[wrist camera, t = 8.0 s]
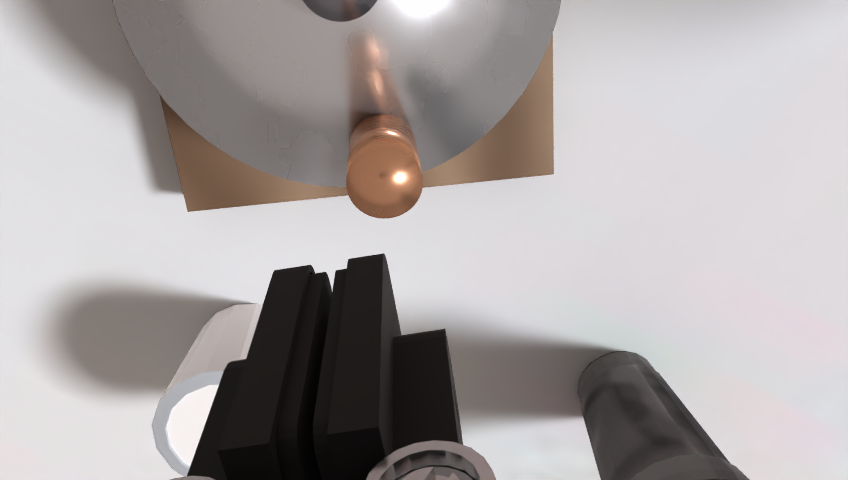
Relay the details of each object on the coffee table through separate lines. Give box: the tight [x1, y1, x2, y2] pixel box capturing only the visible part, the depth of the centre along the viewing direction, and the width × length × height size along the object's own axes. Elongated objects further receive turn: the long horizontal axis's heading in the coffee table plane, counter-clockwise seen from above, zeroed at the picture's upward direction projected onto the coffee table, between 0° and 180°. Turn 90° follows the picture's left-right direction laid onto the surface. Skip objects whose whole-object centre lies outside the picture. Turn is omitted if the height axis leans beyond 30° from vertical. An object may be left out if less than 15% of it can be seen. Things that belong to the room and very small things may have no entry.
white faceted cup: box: [152, 304, 263, 477], centre depth 36 cm, size 7×7×7 cm
